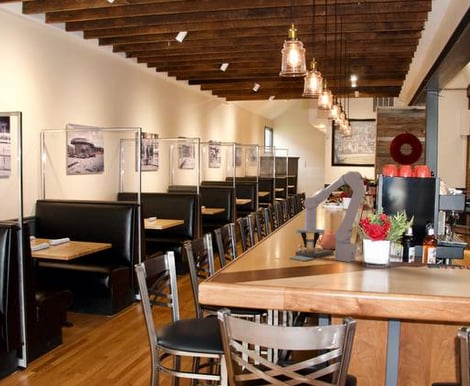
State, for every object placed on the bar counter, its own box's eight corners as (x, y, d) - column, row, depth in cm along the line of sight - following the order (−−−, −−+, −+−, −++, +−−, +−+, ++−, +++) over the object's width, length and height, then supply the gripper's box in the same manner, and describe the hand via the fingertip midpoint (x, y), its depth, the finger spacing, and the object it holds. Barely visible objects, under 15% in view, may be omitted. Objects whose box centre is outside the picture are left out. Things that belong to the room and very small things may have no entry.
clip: (300, 248, 261) (300, 242, 261) (302, 252, 251) (302, 245, 251) (297, 248, 261) (297, 242, 261) (298, 251, 251) (299, 245, 251)
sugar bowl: (343, 250, 272) (344, 232, 272) (318, 250, 273) (318, 231, 272) (339, 247, 285) (339, 229, 284) (314, 246, 285) (315, 228, 284)
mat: (313, 259, 242) (313, 258, 242) (304, 261, 237) (304, 260, 237) (298, 256, 249) (298, 255, 249) (289, 258, 243) (289, 257, 243)
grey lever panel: (333, 254, 260) (333, 250, 260) (311, 258, 246) (312, 254, 246) (317, 251, 267) (317, 247, 267) (295, 255, 253) (295, 251, 252)
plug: (317, 254, 253) (317, 239, 252) (310, 255, 249) (311, 240, 248) (308, 252, 257) (308, 238, 256) (301, 253, 253) (302, 239, 252)
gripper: (297, 221, 248) (296, 248, 249) (326, 222, 248) (325, 249, 248) (295, 219, 255) (294, 246, 256) (323, 220, 255) (322, 246, 255)
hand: (309, 247), depth 252 cm, fingers closed on plug, 4 cm apart
